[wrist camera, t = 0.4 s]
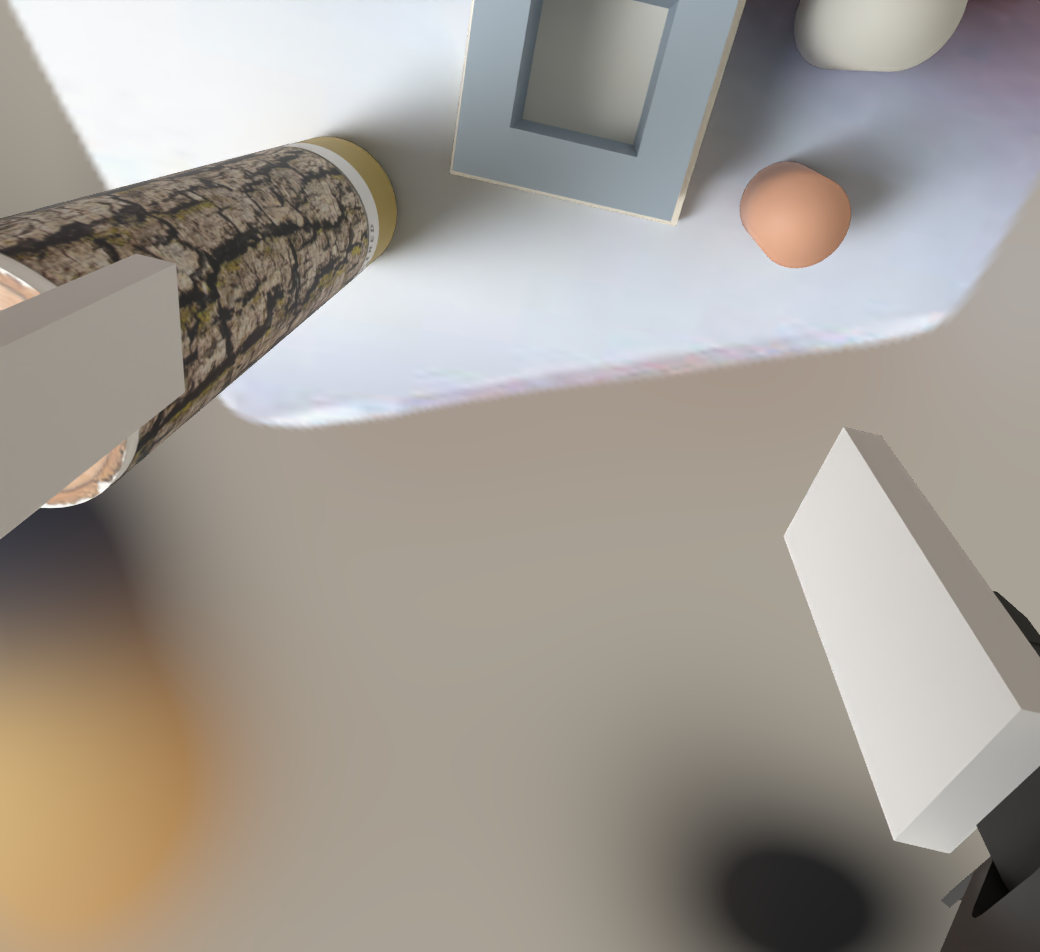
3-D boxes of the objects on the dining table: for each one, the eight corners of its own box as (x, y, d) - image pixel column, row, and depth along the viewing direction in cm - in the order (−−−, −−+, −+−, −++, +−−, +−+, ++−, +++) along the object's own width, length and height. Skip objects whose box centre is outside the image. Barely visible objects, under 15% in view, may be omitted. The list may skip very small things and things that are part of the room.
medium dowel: (816, -47, 29) (879, -79, 23) (904, -26, 29) (993, -52, 23) (779, 58, 31) (827, 57, 25) (862, 78, 32) (931, 82, 25)
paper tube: (418, 172, 36) (145, 331, 15) (378, 285, 39) (112, 546, 18) (297, 110, 35) (-178, 185, 14) (268, 232, 38) (-148, 441, 17)
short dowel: (757, 153, 34) (778, 166, 29) (834, 171, 34) (867, 187, 29) (728, 234, 36) (744, 257, 32) (801, 251, 36) (827, 276, 32)
